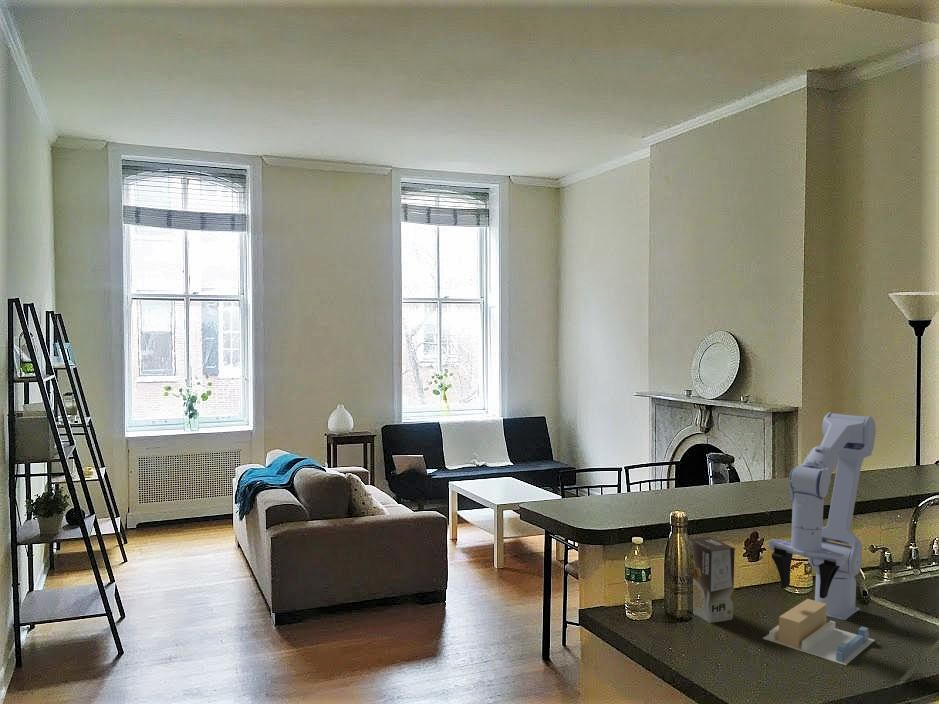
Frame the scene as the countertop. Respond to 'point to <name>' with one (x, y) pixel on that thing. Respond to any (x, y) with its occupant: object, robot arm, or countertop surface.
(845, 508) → the robot arm
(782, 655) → the countertop surface
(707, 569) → the coffee box
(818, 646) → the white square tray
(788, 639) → the tan bar
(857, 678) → the countertop surface
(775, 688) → the countertop surface
